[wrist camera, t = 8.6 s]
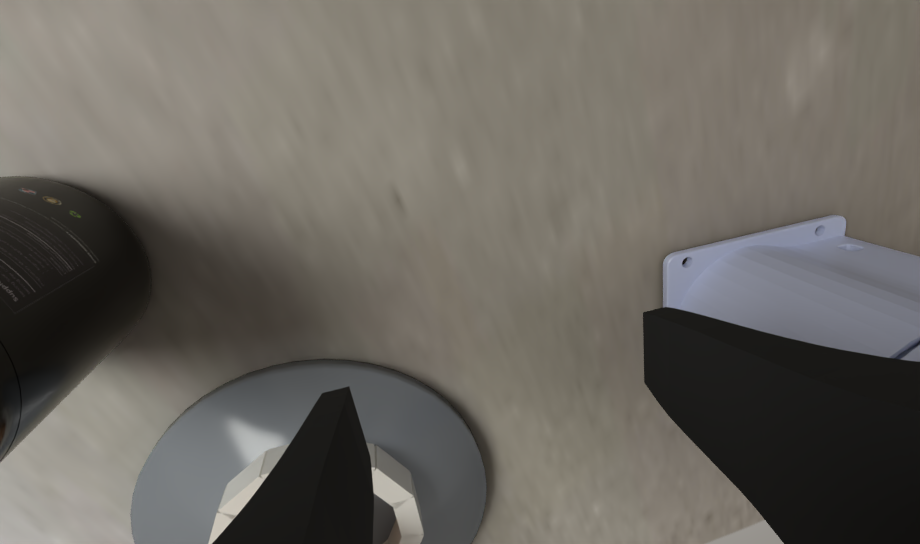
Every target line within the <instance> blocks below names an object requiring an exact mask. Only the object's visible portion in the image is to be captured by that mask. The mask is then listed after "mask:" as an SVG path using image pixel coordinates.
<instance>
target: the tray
mask: <svg viewBox="0 0 920 544" xmlns="http://www.w3.org/2000/svg"><path fill="white" fill-rule="evenodd" d="M348 386H349V387H350V391H351V394H352V397H353V401H354V404H355V407H356V410H357V414H358V417H359V420H360V424H361V427H362V430H363V434H364V437H365V440H366V444H367V447H368V450H369V454H370V457H371V468H372V479H373V492H374V519H373V544H471V543H472V541H473V539H474V538H475V536H476V534H477V531H478V528H479V526H480V523H481V521H482V517H483V513H484V508H485V504H486V490H487V485H486V476H485V469H484V465H483V462H482V458H481V455H480V452H479V449H478V446H477V443H476V441H475V439H474V437H473V434H472V432H471V430H470V428H469V427H468V425H467V424H466V422H465V421H464V419H463V418H462V417H461V415H460V414H459V413H458V412H457V411H456V410H455V409H454V407H453V406H452V405H451V404H450V403H449V402H448V401H447V400H445V399H444V398H443V397H442V396H440V395H439V394H438V393H437V392H435V391H434V390H433V389H431V388H430V387H428V386H426V385H424V384H423V383H421V382H419V381H418V380H416V379H414V378H412V377H409V376H407V375H404V374H402V373H400V372H397V371H395V370H391V369H388V368H384V367H381V366H377V365H374V364H368V363H362V362H355V361H349V360H325V359H323V360H309V361H297V362H292V363H286V364H281V365H275V366H271V367H268V368H264V369H261V370H258V371H254V372H251V373H248V374H246V375H243V376H241V377H239V378H237V379H234V380H232V381H230V382H227V383H225V384H223V385H222V386H220V387H218V388H216V389H215V390H213V391H211V392H210V393H208V394H206V395H204V396H203V397H202V398H200V399H199V400H198V401H197V402H195V403H194V404H193V405H191V406H190V407H189V408H187V409H186V410H185V411H184V412H183V413H182V414H181V415H180V416H179V417H178V418H177V419H176V420H175V421H174V422H173V423H172V424H171V425H170V426H169V427H168V429H167V430H166V431H165V433H164V434H163V435H162V437H161V438H160V440H159V441H158V442H157V444H156V445H155V447H154V448H153V450H152V452H151V453H150V455H149V457H148V459H147V461H146V463H145V464H144V466H143V468H142V470H141V472H140V474H139V476H138V480H137V483H136V486H135V489H134V493H133V497H132V506H131V527H132V535H133V539H134V542H135V544H212V543H213V542H214V541H215V540H216V539H217V538H218V536H219V535H220V534H221V533H222V532H223V531H224V530H225V528H226V527H227V526H228V525H229V524H230V523H231V522H232V520H233V519H234V518H235V517H236V516H237V515H238V513H239V512H240V511H241V510H242V509H243V507H244V506H245V505H246V504H247V502H248V501H249V500H250V499H251V497H252V496H253V495H254V494H255V492H256V491H257V490H258V488H259V487H260V486H261V484H262V483H263V481H264V480H265V479H266V477H267V476H268V475H269V473H270V472H271V471H272V469H273V468H274V466H275V465H276V464H277V462H278V461H279V459H280V458H281V456H282V455H283V453H284V452H285V450H286V449H287V447H288V446H289V444H290V443H291V441H292V440H293V438H294V437H295V435H296V434H297V432H298V430H299V429H300V427H301V426H302V424H303V422H304V421H305V419H306V418H307V416H308V414H309V413H310V411H311V410H312V408H313V406H314V405H315V403H316V402H317V400H318V399H319V397H320V396H321V394H322V393H325V392H328V391H332V390H336V389H340V388H344V387H348Z"/></svg>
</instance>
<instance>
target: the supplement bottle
mask: <svg viewBox="0 0 920 544" xmlns="http://www.w3.org/2000/svg"><path fill="white" fill-rule="evenodd" d="M150 290H151V273H150V267H149V263H148V259H147V256H146V254H145V251H144V249H143V247H142V245H141V243H140V241H139V240H138V238H137V236H136V235H135V234H134V232H133V231H132V230H131V228H130V227H129V226H128V225H127V224H126V223H125V221H124V220H123V219H122V218H121V217H120V216H118V215H117V214H116V213H115V212H114V211H113V210H112V209H110V208H109V207H108V206H106V205H105V204H103V203H102V202H101V201H99V200H97V199H96V198H94V197H92V196H91V195H89V194H87V193H85V192H83V191H80V190H78V189H76V188H73V187H71V186H68V185H65V184H62V183H58V182H55V181H50V180H46V179H41V178H34V177H21V176H12V177H0V462H1V461H2V460H3V459H4V458H5V457H6V456H7V455H8V454H9V453H10V452H11V451H12V450H13V449H14V448H15V447H16V446H17V445H18V444H19V443H20V442H21V441H22V440H23V439H24V438H25V437H26V436H27V435H28V434H29V433H30V432H31V431H32V430H33V429H34V428H35V427H36V426H37V425H38V424H39V423H40V422H41V421H42V420H43V419H44V418H45V417H46V416H47V415H48V414H49V413H50V412H51V411H52V410H53V409H54V408H55V407H56V406H57V405H58V404H59V403H60V402H61V401H62V400H63V399H64V398H65V397H66V396H67V395H68V394H69V393H70V392H71V391H72V390H73V389H74V388H75V387H76V386H77V385H78V384H79V383H80V382H81V381H82V380H83V379H84V378H85V377H86V376H87V375H88V374H89V373H90V372H91V371H92V370H93V369H94V368H95V367H96V366H97V365H98V364H99V363H100V362H101V361H102V360H103V359H104V358H105V357H106V356H107V355H108V354H109V353H110V352H111V351H112V350H113V349H114V348H115V347H116V346H117V345H118V344H119V343H120V342H121V341H122V340H123V339H124V338H125V337H126V336H127V335H128V334H129V333H130V332H131V330H132V329H133V328H134V327H135V326H136V324H137V323H138V321H139V320H140V319H141V317H142V315H143V313H144V311H145V309H146V307H147V304H148V301H149V296H150Z"/></svg>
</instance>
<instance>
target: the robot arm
mask: <svg viewBox="0 0 920 544" xmlns="http://www.w3.org/2000/svg"><path fill="white" fill-rule="evenodd" d="M816 229H817V230H816ZM845 229H846V220H845V218H844V217H842V216H839V215H830V216H826V217H821V218H817V219H813V220H809V221H804V222H800V223H796V224H792V225H787V226H783V227H779V228H775V229H770V230H766V231H762V232H758V233H753V234H749V235H745V236H741V237H736V238H732V239H728V240H724V241H720V242H715V243H711V244H707V245H703V246H698V247H694V248H690V249H686V250H681V251H677V252H673V253H671V254H669V255H668V256H667V257H666V258H665V260H664V262H663V308H659V309H655V310H651V311H647V312H643V332H644V382H645V384H646V385H647V387H648V388H649V390H650V391H651V392H652V394H653V395H654V397H655V398H656V400H657V401H658V402H659V404H660V405H661V406H662V408H663V409H664V410H665V412H666V413H667V414H668V416H669V417H670V418H671V419H672V420H673V421H674V422H675V423H676V424H677V425H678V426H679V427H680V428H681V430H682V431H683V432H684V433H685V434H686V435H687V436H688V437H689V438H690V439H691V440H692V441H693V442H694V443H695V444H696V445H697V446H698V447H699V448H700V449H701V450H702V452H703V453H704V454H705V455H706V456H707V457H708V458H709V459H710V460H711V461H712V462H713V463H714V464H715V465H716V466H717V467H718V468H719V469H720V470H721V471H722V472H723V473H724V474H725V475H726V476H727V477H728V478H729V480H730V481H731V482H732V483H733V484H734V485H735V486H736V487H737V488H738V489H739V490H740V491H741V492H742V493H743V494H744V495H745V497H746V498H747V499H748V500H749V501H750V502H751V503H752V504H753V506H754V507H755V508H756V509H757V510H758V512H759V513H760V514H761V515H762V517H763V518H764V519H765V520H766V522H767V523H768V524H769V525H770V527H771V528H772V529H773V530H774V532H775V533H776V534H777V535H778V536H779V538H780V539H781V540H782V542H783V543H784V544H920V256H916V255H912V254H909V253H905V252H901V251H898V250H894V249H890V248H887V247H883V246H880V245H876V244H872V243H869V242H865V241H861V240H858V239H854V238H850V237H847V236H845ZM685 258H687V261H686V262H685V264H683V265H682V262H683V260H684V259H685ZM373 519H374V492H373V479H372V468H371V457H370V454H369V450H368V447H367V444H366V440H365V437H364V434H363V430H362V427H361V424H360V420H359V417H358V414H357V410H356V407H355V404H354V401H353V397H352V394H351V391H350V387H349V386H348V387H344V388H340V389H336V390H332V391H328V392H325V393H322V394H321V396H320V397H319V399H318V400H317V402H316V403H315V405H314V406H313V408H312V410H311V411H310V413H309V414H308V416H307V418H306V419H305V421H304V422H303V424H302V426H301V427H300V429H299V430H298V432H297V434H296V435H295V437H294V438H293V440H292V441H291V443H290V444H289V446H288V447H287V449H286V450H285V452H284V453H283V455H282V456H281V458H280V459H279V461H278V462H277V464H276V465H275V466H274V468H273V469H272V471H271V472H270V473H269V475H268V476H267V477H266V479H265V480H264V481H263V483H262V484H261V486H260V487H259V488H258V490H257V491H256V492H255V494H254V495H253V496H252V497H251V499H250V500H249V501H248V502H247V504H246V505H245V506H244V507H243V509H242V510H241V511H240V512H239V513H238V515H237V516H236V517H235V518H234V519H233V520H232V522H231V523H230V524H229V525H228V526H227V527H226V528H225V530H224V531H223V532H222V533H221V534H220V535H219V536H218V538H217V539H216V540H215V541H214V542H213V543H212V544H373Z"/></svg>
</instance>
